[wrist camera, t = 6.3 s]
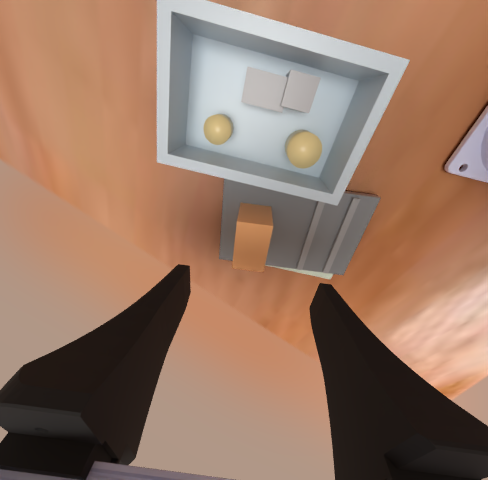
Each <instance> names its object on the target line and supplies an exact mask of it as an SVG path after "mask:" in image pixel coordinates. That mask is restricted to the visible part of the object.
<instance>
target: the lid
mask: <svg viewBox="0 0 488 480" xmlns="http://www.w3.org/2000/svg"><path fill="white" fill-rule="evenodd" d="M379 200H380V197H379V196H378V195H373V194H365V193H358V192H350V191H344V193H343V195H342V197H341V199H340V201H339V203H338V205H332V204H328V203H324V202H320V201H316V200H312V199H308V198H303V197H299V196H295V195H291V194H287V193H283V192H279V191H274V190H270V189H266V188H262V187H258V186H254V185H249V184H245V183H241V182H237V181H233V180H229V179H225V178H224V190H223V206H222V221H221V237H220V253H219V259H223V260H231V261H233V262H232V268H233V269H241V270H248V271H256V272H264V267H265V265H269V266H277V267H284V268H292V269H297V270H307V271H315V272H323V273H330V274H338V275H344V273H345V271H346V268H347V266H348V264H349V262H350V260H351V258H352V256H353V254H354V252H355V250H356V248H357V246H358V244H359V242H360V240H361V238H362V235H363V233H364V231H365V229H366V227H367V225H368V223H369V221H370V219H371V217H372V215H373V213H374V211H375V209H376V207H377V205H378V202H379Z"/></svg>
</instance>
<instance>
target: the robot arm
mask: <svg viewBox="0 0 488 480" xmlns="http://www.w3.org/2000/svg"><path fill="white" fill-rule="evenodd" d="M461 165H463V167H462V168H461V169H460V170H459V168H460V166H461ZM445 171H447V172H449V173H452V174H456V175H460V176H463V177H467V178H471V179H475V180H479V181H483V182H487V183H488V106H487V107H486V108H485V110H484V111H483V113H482V114H481V115H480V117H479V118H478V120H477V121H476V122H475V124H474V125H473V127H472V128H471V129H470V131H469V132H468V134H467V135H466V136H465V138H464V139H463V141H462V142H461V143H460V145H459V146H458V148H457V149H456V150H455V152H454V153H453V154H452V156H451V157H450V159H449V160H448V161H447V163H446V165H445ZM190 292H191V291H190V266H187V265H180V264H178V265H177V266H176V267H175V268H174V269H173V270H172V271H171V272H170V273H169V274H168V275H167V276H165V277H164V278H163V279H162V280H161V281H160V282H159V283H158V284H157V285H156V286H155V287H153V288H152V289H151V290H150V291H149V292H147V293H146V294H145V295H144V296H143V297H141V298H140V299H139V300H138V301H137V302H135V303H134V304H132V305H131V306H130V307H128V308H127V309H126V310H124V311H123V312H121V313H120V314H118V315H117V316H116V317H114V318H112V319H111V320H109V321H108V322H106V323H104V324H103V325H101V326H100V327H98V328H96V329H95V330H93V331H91V332H89V333H88V334H86V335H84V336H82V337H80V338H79V339H77V340H75V341H73V342H71V343H69V344H67V345H65V346H63V347H61V348H59V349H57V350H55V351H53V352H51V353H49V354H47V355H45V356H42V357H40V358H38V359H36V360H34V361H32V362H29V363H27V364H25V365H23V367H21V368H20V369H19V370H18V371H17V372H16V374H15V375H14V376H13V377H12V378H11V379H10V380H9V381H8V382H7V383H6V384H5V386H4V387H3V388H2V389H1V390H0V426H1V427H2V428H4V429H5V430H7V431H8V434H7V435H6V436H5V438H4V439H3V440H2V441H1V443H0V480H234V479H226V478H218V477H211V476H204V475H196V474H188V473H181V472H174V471H166V470H158V469H150V468H142V467H135V466H129V464H130V463H131V462H132V461H133V460H134V459H135V458H136V454H137V451H138V447H139V443H140V440H141V436H142V432H143V429H144V425H145V422H146V418H147V415H148V411H149V407H150V405H151V401H152V398H153V394H154V391H155V388H156V385H157V382H158V378H159V375H160V372H161V369H162V366H163V363H164V360H165V357H166V354H167V351H168V349H169V346H170V344H171V342H172V340H173V337H174V335H175V333H176V330H177V328H178V326H179V323H180V321H181V318H182V316H183V314H184V312H185V309H186V306H187V302H188V299H189V296H190ZM310 318H311V325H312V330H313V334H314V338H315V342H316V346H317V350H318V354H319V358H320V362H321V366H322V371H323V376H324V382H325V388H326V395H327V403H328V410H329V418H330V427H331V437H332V445H333V458H334V470H335V480H481V479H483V478H486V477H488V426H487V425H485V424H484V423H482V422H481V421H479V420H478V419H477V418H475V417H474V416H472V415H471V414H470V413H468V412H467V411H465V410H464V409H462V408H461V407H459V406H458V405H457V404H455V403H454V402H452V401H451V400H450V399H448V398H447V397H446V396H444V395H443V394H442V393H441V392H439V391H438V390H437V389H435V388H434V387H433V386H431V385H430V384H429V383H428V382H426V381H425V380H424V379H423V378H421V377H420V376H419V375H418V374H416V373H415V372H414V371H413V370H412V369H411V368H409V367H408V366H407V365H406V364H405V363H403V362H402V361H401V360H400V359H399V358H398V357H397V356H396V355H395V354H394V353H392V352H391V351H390V350H389V349H388V348H387V347H386V346H385V345H384V344H383V343H382V342H381V341H380V340H379V339H378V338H377V337H376V336H375V335H374V334H373V333H372V332H371V331H370V330H369V329H368V328H367V327H366V325H365V324H364V323H363V322H362V321H361V320H360V319H359V318H358V316H357V315H356V314H355V313H354V312H353V311H352V309H351V308H350V307H349V306H348V305H347V303H346V302H345V301H344V300H343V299H342V297H341V296H340V295H339V294H338V292H337V291H336V290H335V289H334V288H333V286H332V285H331V284H323V283H320V284H319V286H318V289H317V291H316V294H315V296H314V298H313V301H312V303H311V306H310Z"/></svg>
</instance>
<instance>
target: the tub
mask: <svg viewBox="0 0 488 480" xmlns="http://www.w3.org/2000/svg"><path fill="white" fill-rule="evenodd" d="M409 61H410V60H408V59H405V58H401V57H398V56H394V55H391V54H387V53H384V52H381V51H377V50H374V49H370V48H367V47H364V46H360V45H357V44H353V43H350V42H346V41H343V40H340V39H336V38H333V37H329V36H326V35H323V34H319V33H316V32H312V31H309V30H306V29H302V28H299V27H295V26H292V25H288V24H285V23H282V22H278V21H275V20H271V19H268V18H265V17H261V16H258V15H254V14H251V13H247V12H244V11H241V10H237V9H234V8H230V7H227V6H224V5H220V4H217V3H213V2H210V1H206V0H157V162H158V163H162V164H167V165H171V166H175V167H179V168H183V169H187V170H191V171H196V172H200V173H204V174H208V175H212V176H216V177H220V178H225V179H229V180H233V181H237V182H241V183H245V184H249V185H254V186H258V187H262V188H266V189H270V190H274V191H279V192H283V193H287V194H291V195H295V196H299V197H303V198H308V199H312V200H316V201H320V202H324V203H328V204H332V205H338V203H339V201H340V199H341V197H342V195H343V193H344V191H345V189H346V187H347V185H348V183H349V181H350V179H351V177H352V175H353V173H354V171H355V169H356V167H357V165H358V163H359V161H360V159H361V157H362V155H363V153H364V151H365V149H366V147H367V145H368V143H369V141H370V139H371V137H372V135H373V133H374V131H375V129H376V127H377V125H378V123H379V121H380V119H381V117H382V115H383V113H384V111H385V109H386V107H387V105H388V103H389V101H390V99H391V97H392V95H393V93H394V91H395V89H396V87H397V85H398V83H399V81H400V79H401V77H402V75H403V73H404V71H405V69H406V67H407V65H408V63H409Z"/></svg>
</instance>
